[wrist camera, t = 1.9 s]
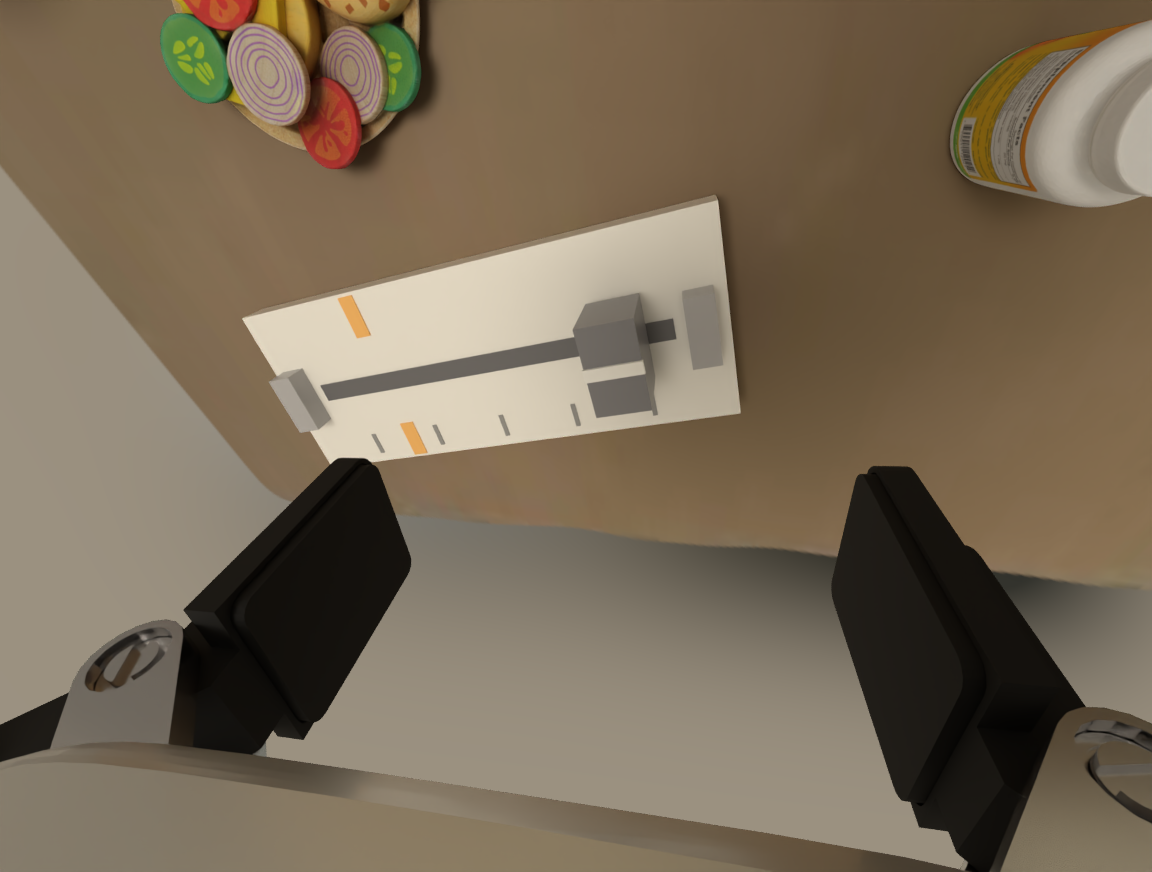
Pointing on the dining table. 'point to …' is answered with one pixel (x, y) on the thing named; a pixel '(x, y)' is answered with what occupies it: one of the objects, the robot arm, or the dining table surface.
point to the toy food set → (300, 66)
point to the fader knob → (616, 356)
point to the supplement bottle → (1063, 120)
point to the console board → (505, 341)
